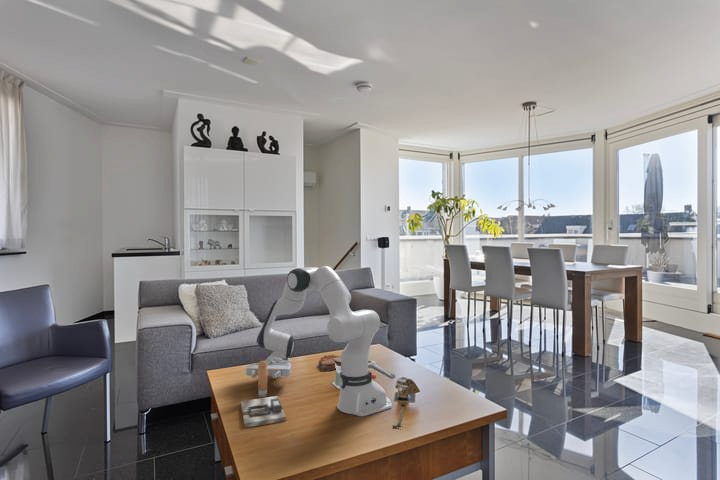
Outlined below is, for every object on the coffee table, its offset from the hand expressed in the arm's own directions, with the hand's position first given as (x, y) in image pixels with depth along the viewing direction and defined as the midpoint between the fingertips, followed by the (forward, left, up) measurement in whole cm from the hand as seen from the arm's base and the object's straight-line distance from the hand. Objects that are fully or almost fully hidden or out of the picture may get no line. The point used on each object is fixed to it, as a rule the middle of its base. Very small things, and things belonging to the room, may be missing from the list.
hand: (263, 376), depth 169 cm
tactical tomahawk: (-49, +39, -9) cm, 63 cm away
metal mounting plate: (+3, +17, -8) cm, 19 cm away
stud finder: (-2, +19, -7) cm, 20 cm away
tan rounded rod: (+1, +1, -8) cm, 8 cm away
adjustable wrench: (-59, -10, -9) cm, 61 cm away
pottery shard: (-39, -25, -9) cm, 47 cm away
